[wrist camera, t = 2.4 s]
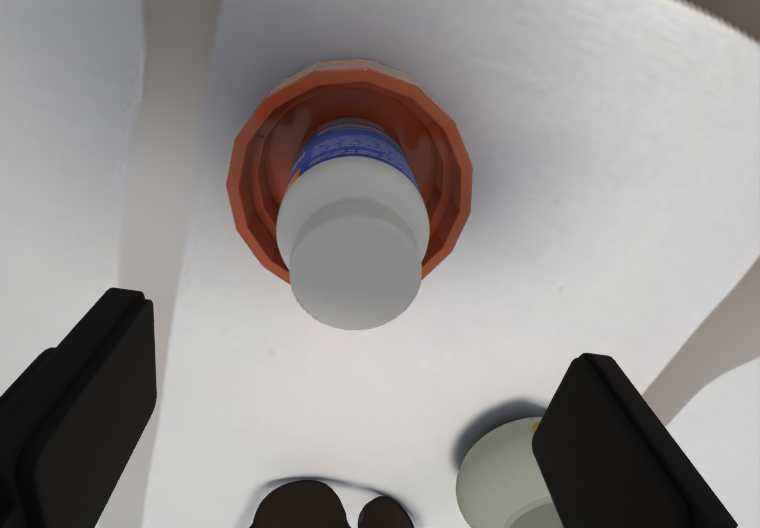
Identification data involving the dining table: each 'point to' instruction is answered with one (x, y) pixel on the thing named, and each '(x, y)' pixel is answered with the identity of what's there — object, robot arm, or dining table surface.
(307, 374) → the dining table surface
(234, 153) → the bowl
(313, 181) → the pill bottle
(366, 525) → the sunglasses
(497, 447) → the air freshener
